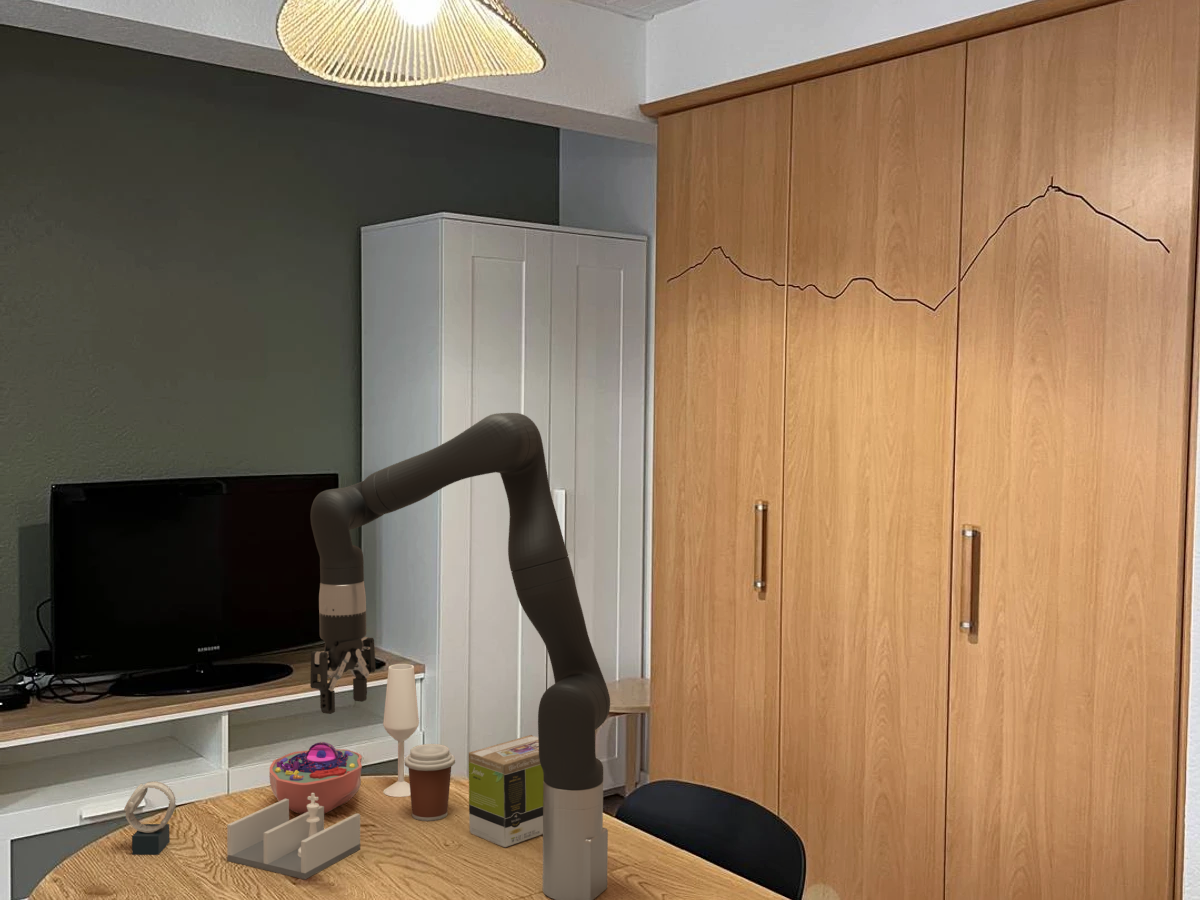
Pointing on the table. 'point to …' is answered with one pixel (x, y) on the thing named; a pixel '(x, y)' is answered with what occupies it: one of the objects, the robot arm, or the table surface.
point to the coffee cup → (429, 780)
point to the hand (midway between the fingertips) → (344, 706)
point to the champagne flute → (400, 717)
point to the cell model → (316, 777)
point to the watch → (149, 835)
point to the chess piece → (312, 816)
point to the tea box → (506, 791)
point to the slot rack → (290, 841)
